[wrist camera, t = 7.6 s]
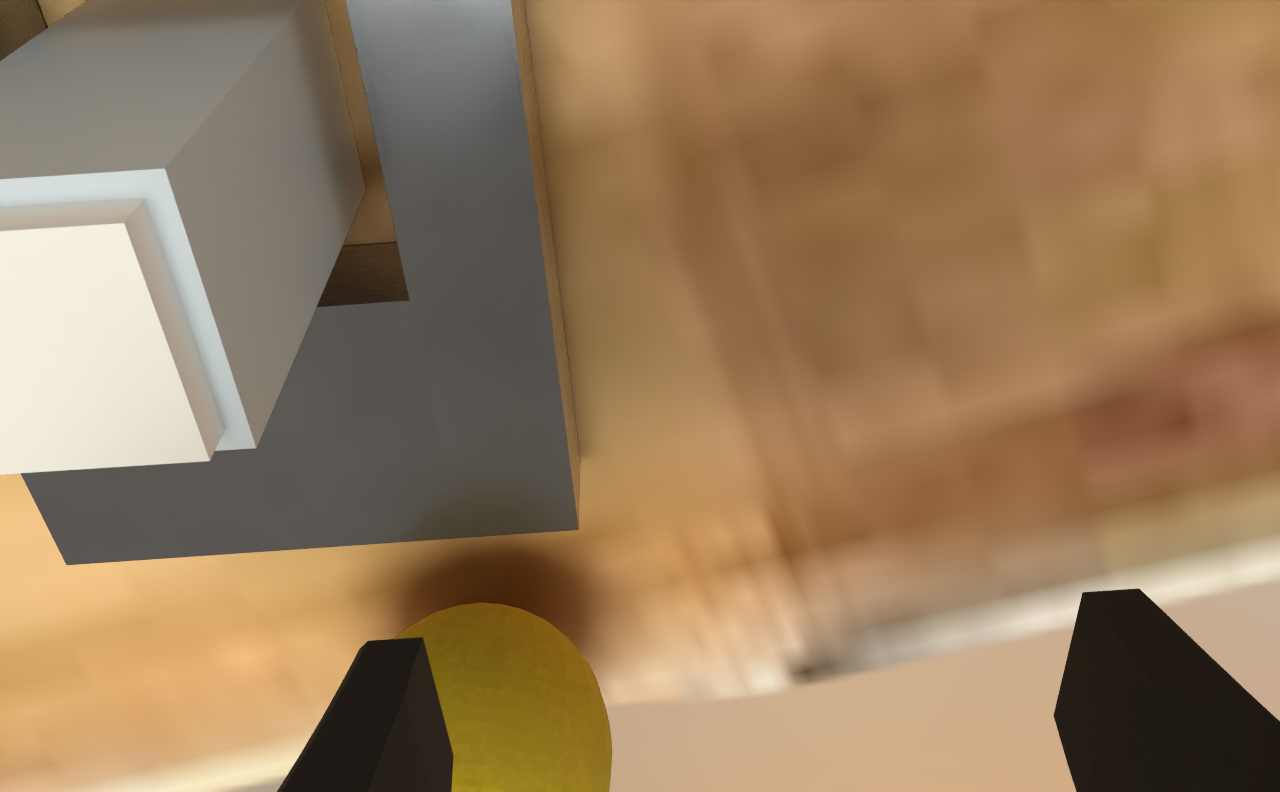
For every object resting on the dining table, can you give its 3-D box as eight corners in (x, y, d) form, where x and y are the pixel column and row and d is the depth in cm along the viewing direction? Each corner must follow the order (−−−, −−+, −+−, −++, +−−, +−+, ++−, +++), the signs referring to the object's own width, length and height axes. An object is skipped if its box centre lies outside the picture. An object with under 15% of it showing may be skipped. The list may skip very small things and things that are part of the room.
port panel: (459, -538, 14) (433, -571, 12) (580, 459, 23) (578, 543, 21) (-325, -475, 14) (-494, -496, 12) (109, 492, 23) (58, 579, 21)
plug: (320, -21, 17) (144, 193, 11) (366, 190, 19) (242, 479, 13) (94, -6, 17) (-223, 217, 11) (163, 203, 19) (-64, 498, 13)
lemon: (343, 543, 24) (247, 883, 17) (592, 515, 24) (588, 849, 17) (405, 706, 27) (342, 1045, 21) (625, 682, 27) (632, 1019, 20)
